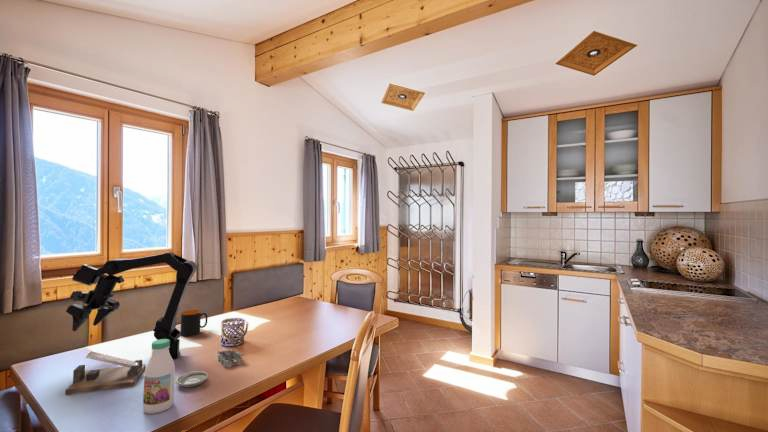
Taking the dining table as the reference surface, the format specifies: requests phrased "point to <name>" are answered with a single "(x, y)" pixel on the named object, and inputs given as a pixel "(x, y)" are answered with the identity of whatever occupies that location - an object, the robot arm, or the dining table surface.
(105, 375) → the base
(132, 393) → the dining table surface
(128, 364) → the bar
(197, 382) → the saucer
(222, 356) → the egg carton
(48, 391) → the dining table surface
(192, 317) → the mug
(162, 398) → the milk bottle
